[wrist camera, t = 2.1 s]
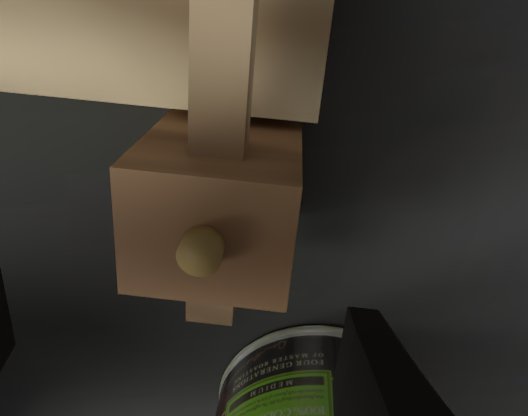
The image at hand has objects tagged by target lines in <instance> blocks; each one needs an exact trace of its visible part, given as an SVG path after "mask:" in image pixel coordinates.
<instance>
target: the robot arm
mask: <svg viewBox="0 0 528 416" xmlns="http://www.w3.org/2000/svg"><path fill="white" fill-rule="evenodd" d="M14 346H15V339H14V334H13V329H12V324H11V319H10V314H9V309H8V304H7V299H6V294H5V289H4V284H3V279H2V274H1V269H0V371H1V369H2V368H3V366H4V364H5V362H6V360H7V359H8V357H9V355H10V353H11V351H12V349H13V348H14ZM333 414H334V416H455V415H454V414H453V413H452V412H451V410H450V409H449V408H448V407H447V405H446V404H445V403H444V402H443V400H442V399H441V398H440V396H439V395H438V394H437V392H436V391H435V390H434V388H433V387H432V386H431V384H430V383H429V382H428V380H427V379H426V378H425V376H424V375H423V374H422V372H421V371H420V370H419V368H418V367H417V365H416V364H415V363H414V361H413V360H412V358H411V357H410V356H409V354H408V353H407V351H406V350H405V348H404V347H403V345H402V344H401V342H400V341H399V340H398V338H397V337H396V335H395V334H394V332H393V331H392V329H391V328H390V326H389V325H388V323H387V322H386V320H385V319H384V317H383V316H382V314H381V313H380V312H379V311H378V310H374V309H365V308H356V307H348V308H347V313H346V318H345V323H344V328H343V333H342V338H341V343H340V348H339V353H338V358H337V363H336V368H335V373H334V378H333Z"/></svg>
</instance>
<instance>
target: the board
mask: <svg viewBox="0 0 528 416" xmlns="http://www.w3.org/2000/svg"><path fill="white" fill-rule="evenodd" d="M334 1H335V0H259V7H258V21H257V35H256V49H255V63H254V77H253V91H252V105H251V117H260V118H270V119H280V120H290V121H299V122H309V123H318V118H319V110H320V103H321V96H322V88H323V81H324V74H325V66H326V59H327V52H328V44H329V37H330V30H331V23H332V15H333V8H334ZM188 74H189V0H0V91H2V92H12V93H22V94H32V95H41V96H51V97H61V98H71V99H81V100H91V101H101V102H111V103H121V104H131V105H141V106H151V107H161V108H170V109H180V110H188Z"/></svg>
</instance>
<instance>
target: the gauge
mask: <svg viewBox="0 0 528 416" xmlns="http://www.w3.org/2000/svg"><path fill="white" fill-rule="evenodd" d="M258 7H259V0H189V74H188V110H180V109H171V110H170V111H169V112H168V113H167V114H166V115H165V116H164V117H163V118H162V119H161V120H160V121H158V122H157V123H156V124H155V125H154V126H153V127H152V128H151V129H150V130H149V131H148V132H147V133H146V134H145V135H143V136H142V137H141V138H140V139H139V140H138V141H137V142H136V143H135V144H134V145H133V146H132V147H131V148H130V149H129V150H127V151H126V152H125V153H124V154H123V155H122V156H121V157H120V158H119V159H118V160H117V161H116V162H115V163H114V164H112V165H111V166H110V182H111V197H112V212H113V227H114V242H115V257H116V272H117V287H118V294H124V295H132V296H141V297H150V298H159V299H168V300H177V301H186V321H191V322H200V323H208V324H217V325H226V326H232V323H233V318H234V314H235V309H236V307H239V308H248V309H257V310H266V311H275V312H284V313H286V312H287V304H288V296H289V289H290V281H291V273H292V266H293V258H294V250H295V243H296V235H297V227H298V219H299V212H300V204H301V196H302V189H303V173H302V122H299V121H290V120H280V119H270V118H260V117H251V105H252V91H253V77H254V63H255V49H256V35H257V21H258Z"/></svg>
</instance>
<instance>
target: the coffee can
mask: <svg viewBox="0 0 528 416" xmlns="http://www.w3.org/2000/svg"><path fill="white" fill-rule="evenodd" d="M342 333H343V328H340V327H334V326H325V325H308V326H298V327H291V328H286V329H282V330H278V331H275V332H272V333H270V334H267V335H265V336H263V337H261V338H260V339H258V340H256V341H253V342H252V343H251V344H249V345H248V346H246V347H245V348H243V349H242V350H241V351H240V352H239V353H238V354H237V355H236V356H235V357H234V358H233V360H232V361H231V362H230V364H229V365H228V367H227V368H226V370H225V372H224V374H223V376H222V380H221V383H220V389H219V402H218V407H217V412H216V416H334V414H333V378H334V373H335V368H336V363H337V358H338V353H339V348H340V343H341V338H342Z"/></svg>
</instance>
